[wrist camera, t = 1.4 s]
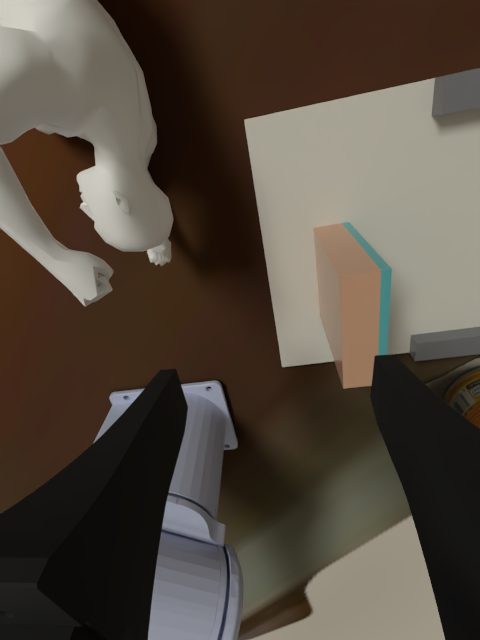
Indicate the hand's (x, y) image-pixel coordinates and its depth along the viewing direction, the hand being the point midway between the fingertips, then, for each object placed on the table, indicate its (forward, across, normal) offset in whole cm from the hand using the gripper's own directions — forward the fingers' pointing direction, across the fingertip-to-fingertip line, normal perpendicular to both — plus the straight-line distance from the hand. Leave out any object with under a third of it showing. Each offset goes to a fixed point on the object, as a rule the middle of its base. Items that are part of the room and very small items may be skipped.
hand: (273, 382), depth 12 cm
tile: (+10, -4, +1) cm, 11 cm away
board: (+11, -9, 0) cm, 14 cm away
